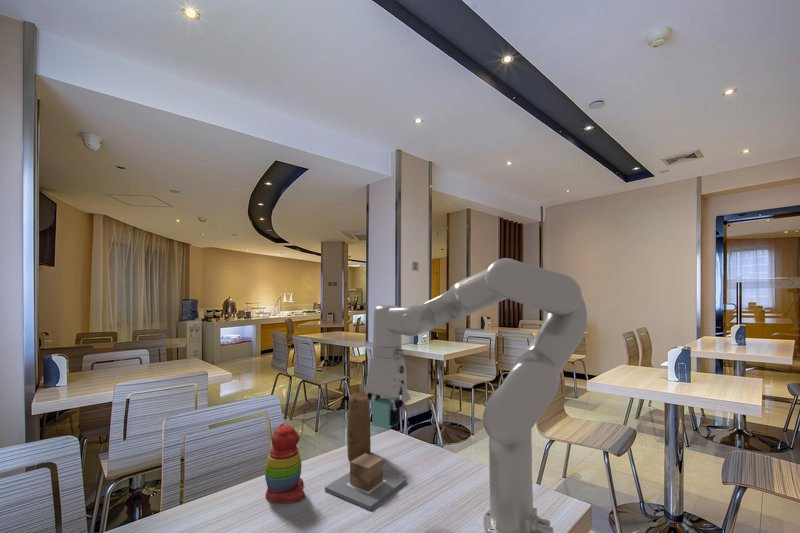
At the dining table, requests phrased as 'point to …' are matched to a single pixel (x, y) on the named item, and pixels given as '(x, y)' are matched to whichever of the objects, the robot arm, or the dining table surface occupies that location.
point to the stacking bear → (284, 467)
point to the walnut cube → (366, 471)
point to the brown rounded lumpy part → (358, 426)
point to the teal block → (381, 412)
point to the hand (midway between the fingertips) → (385, 421)
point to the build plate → (364, 497)
